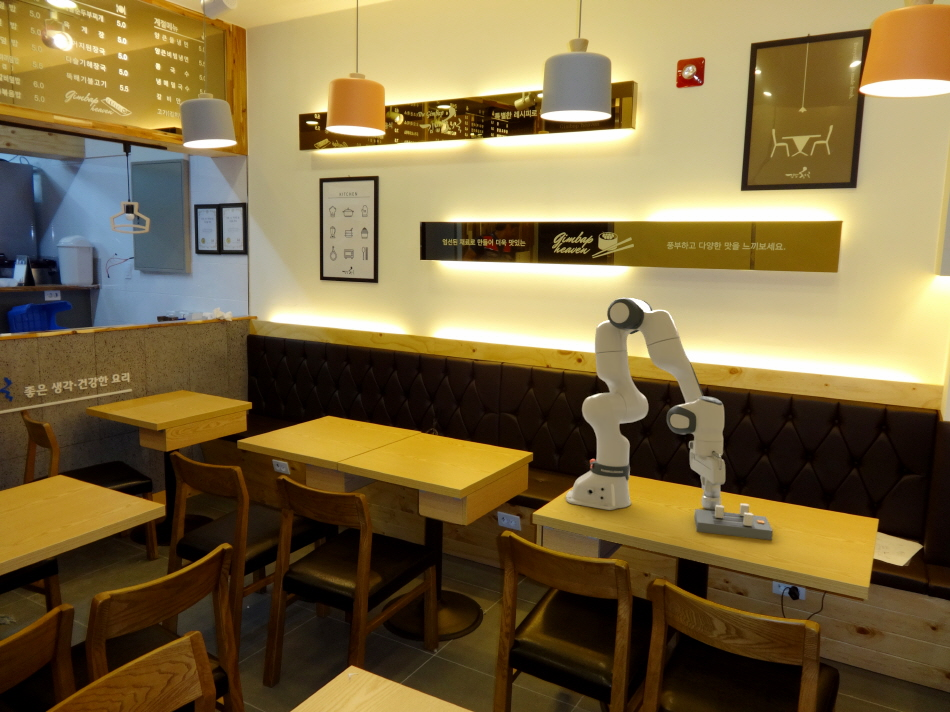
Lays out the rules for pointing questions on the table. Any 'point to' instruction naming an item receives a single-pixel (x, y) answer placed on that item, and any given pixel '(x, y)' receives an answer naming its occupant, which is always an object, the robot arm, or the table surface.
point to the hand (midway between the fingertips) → (706, 490)
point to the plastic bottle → (711, 497)
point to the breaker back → (744, 509)
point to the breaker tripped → (719, 511)
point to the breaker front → (748, 519)
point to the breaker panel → (732, 525)
